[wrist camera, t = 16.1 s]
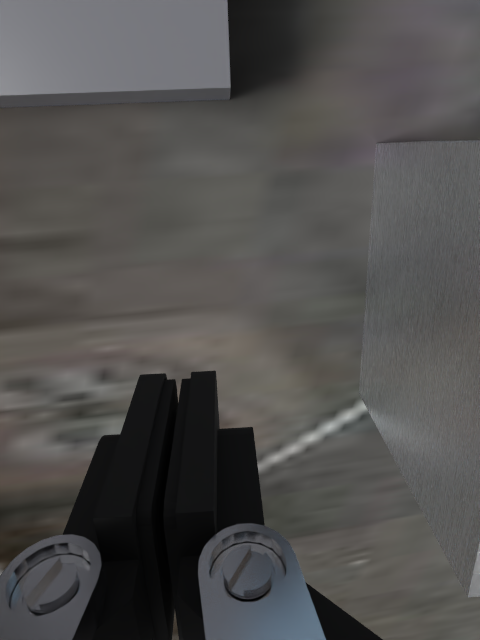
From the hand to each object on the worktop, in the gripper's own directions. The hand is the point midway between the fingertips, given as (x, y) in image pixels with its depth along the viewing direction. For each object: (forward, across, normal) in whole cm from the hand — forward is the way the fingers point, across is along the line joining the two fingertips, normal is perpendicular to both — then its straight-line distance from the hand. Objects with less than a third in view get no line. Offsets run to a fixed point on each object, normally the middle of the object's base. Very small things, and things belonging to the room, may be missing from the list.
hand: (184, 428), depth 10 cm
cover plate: (+11, -9, 0) cm, 14 cm away
